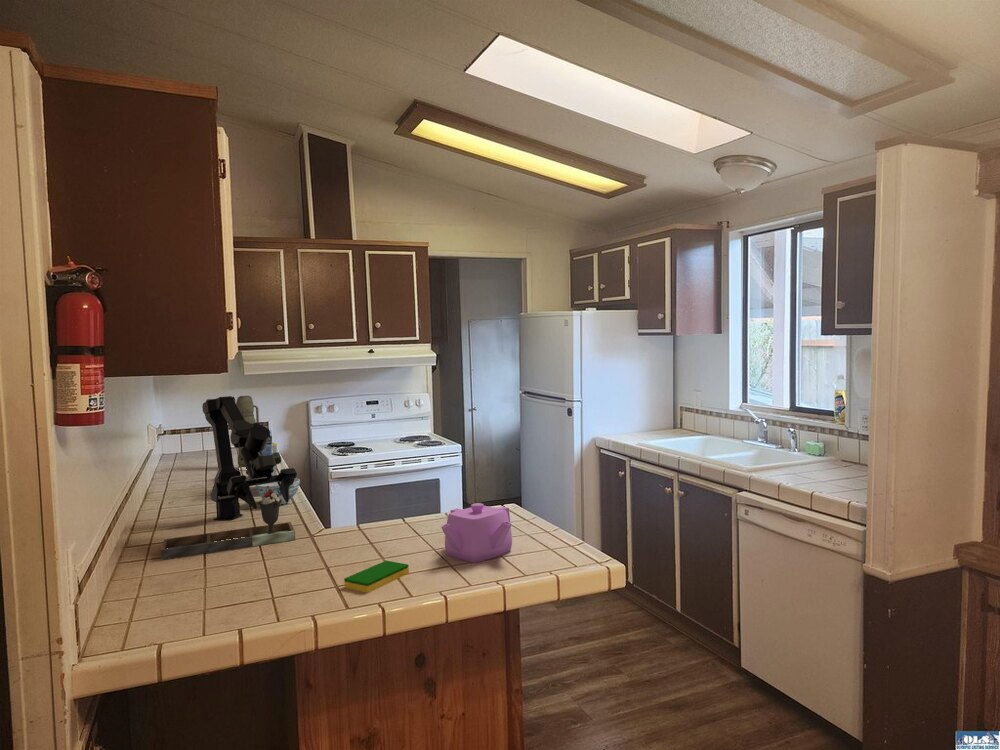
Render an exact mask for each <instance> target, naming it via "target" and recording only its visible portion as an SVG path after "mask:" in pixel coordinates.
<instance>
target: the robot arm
mask: <svg viewBox="0 0 1000 750" xmlns="http://www.w3.org/2000/svg"><path fill="white" fill-rule="evenodd" d="M236 402H237V401H236V399H235V397H234V396H231V395H227V396H226V395H225V396H219V397H217V398H208V399H206V401H205V402H203V403H202V412H203V414H204V417H205V420H206V421H207V423H208V424H209V425H210V426H211V427H212V433H213V440H214V441H213V442H214V447H215V448H214V449H215V455H216V463H217V472H216V474H215V476H214V480H213V482H214V483H213V486H212V489H211V492H210V499H211V501H213V503H214V502H215V503H216V504H215V505H216V506H215V507H216V510H215V511H216V517H213V519H212V520H215V521H232V520H234V519H235V520H236V519H237V518H239V517H242V516H244V514H243V513H241V504H240V500H241V501H244V502H245V503H246V504H248V505H249V506H250V507H252V508H253V510H256V509H257V508H258V506H257V505H258V504H257V503H256V499H255V498H254V496H253V493H252V491H251V488H250V487H253V486H255V485H263V484H269V483H275V482H277V483H278V485H279V486H280V488H279V490H280V492H281V494H282V496H283V498H284V500H285V501H286V503H287V504H289V503H288V501H290V500H289V487H290V486H291V485H292V484H293V482H294V480H295V478H297V475H298V473H297V471H296V468H294V467H287V468H281V469H280V471H279V474H276V475H274V476H272V475H271V473H273V471H274V469H273V467H274V466H276V467H277V465H279V464H281V463H282V457H281V454H280V452H279V451H277V452H276V453H273V454H271V455H265V456H264V455H263V453H262V451H263V450H264V449H265V447H266V445H267V442H268V439H269V437H270V429H269V428H267V427H266V426H264V425H261V424H260V422H259V423H257V422H256V423H253V424H251V423H249V422H246V420H245V419H244V417H243V415H242V414H241V412H240V410H239V408H238V407H237V405H236ZM229 428H230V431H231V432H229ZM232 445H233V448H235V449H238V448H241V447H243V448H242V449H241V452H240V454H241V457H240V459H241V460H243V462H244V464H245V467H246V469H247V470H245V474H242V472H241V470H238V469H236V467H235V465H234V458H233V453H232ZM248 474H249V477H250V479H248V478H247V476H248ZM246 475H247V476H246Z"/></svg>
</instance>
